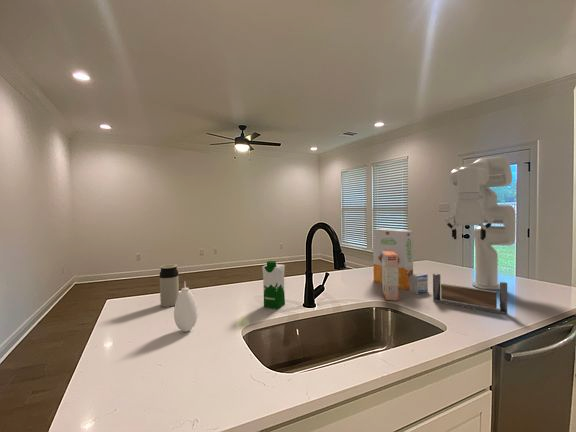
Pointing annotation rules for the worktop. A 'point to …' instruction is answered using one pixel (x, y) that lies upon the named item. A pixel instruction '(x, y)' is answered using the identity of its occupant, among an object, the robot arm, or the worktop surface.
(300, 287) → the worktop surface
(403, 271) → the cereal box
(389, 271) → the cracker box
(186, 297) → the white air blower bulb
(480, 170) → the robot arm
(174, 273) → the travel mug
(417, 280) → the medicine box
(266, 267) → the milk carton
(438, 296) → the gate frame
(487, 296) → the gate
